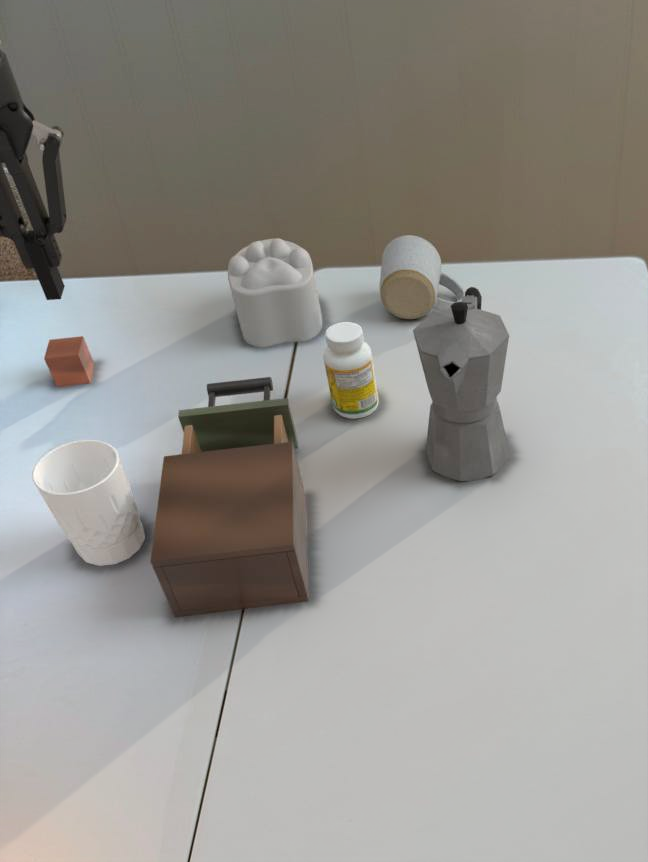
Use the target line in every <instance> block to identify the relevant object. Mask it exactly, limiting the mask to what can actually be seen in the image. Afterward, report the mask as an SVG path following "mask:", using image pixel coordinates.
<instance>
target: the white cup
mask: <svg viewBox="0 0 648 862" xmlns="http://www.w3.org/2000/svg"><path fill="white" fill-rule="evenodd" d="M31 478H32V481H33V484H34V486H35V487H36V490H37V491H38V493H39V494H40V496H41V497H42V499H43V501H44V502H45V505H46V506H47V507H48V509H49V511H50V513H51V514H52V515H53V517H54V519H55V520H56V522H57V524H58V525H59V527H60V528H61V530H62V532H63V534H64V535H65V537H66V538H67V539H68V540H69V542H70V543H71V544H72V546H73V548H74V549H75V551H76V553H77V554H78V556H80V558H81V559H82V560H83V561H84V562H86V563H87V564H90V565H91V564H92V565H94V566H98V567H102V566H113V565H116V564H119V563H121V562H124V561H126V560H129V559H130V558H131V557H133V556H134V555H135V554H136V553H137V552H139V551H140V550H141V548H142V547H143V544H144V542H145V540H146V535H145V529H144V525H143V522H142V521H141V517H140V513H139V510H138V506H137V503H136V501H135V497H134V495H133V492H132V491H133V490H132V488H131V485H130V483H129V479H128V477H127V474H126V472H125V469H124V466H123V464H122V461H121V459H120V455H119V453H118V451H117V450H116V448H115V447H114V446H112V445H111V444H109V443H108V442H105V441H102V440H97V439H79V440H74V441H73V440H72V441H70V442H69V441H68V442H66V443H63V444H61V445H59V446H57V447H56V446H55V448H53V449H51V450H50V451H48V452H46V453H45V454H44V455H43V456H41V457H40V459H39V460H38V461H37V462H36V464H35V465H34V467H33V470H32V474H31Z"/></svg>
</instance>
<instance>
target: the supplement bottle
mask: <svg viewBox="0 0 648 862" xmlns="http://www.w3.org/2000/svg"><path fill="white" fill-rule="evenodd" d="M363 331H364V330H363V328H362V327H361V326H360V325H359V324H358V323H355V322H352V321H341V322H336V323H333V324H332V325H330V326H329V327H328V328H327V329H326V331H325V340H326V341H325V342H326V348H325V349H324V352H323V363H324V368H325V373H326V378H327V383H328V389H329V394H330V399H331V404H332V408H333V410H334V411H335V412H336V413H337V414H338V415H339V416H341V417H342V418H345V419H351V420H352V419H361V418H365V417H368V416H369V415H372V414H373V413H374V412H375V411H376V410H377V408H378V406H379V403H380V401H379V400H380V399H379V393H378V386H377V378H376V373H375V372H376V371H375V366H374V365H375V364H374V359H373V353H372V348H371V347H370V345H369V344H368V343H367V342H366V341H365V337H364V332H363Z"/></svg>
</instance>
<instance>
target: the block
mask: <svg viewBox="0 0 648 862" xmlns="http://www.w3.org/2000/svg"><path fill="white" fill-rule="evenodd" d="M43 359H44V362H45V364H46V366H47V368H48V371H49V373H50V375H51V377H52V379H53V381H54V383H55V386H56V387H57V388H59V387H69V386H77V385H79V386H80V385H87V384H91V383H92V378H93V373H94V369H95V365H96V364H95V362H94V359H93V356H92V354H91V352H90V350H89V347H88V344H87V342H86V340H85V337H84V335H80V336H72V337H63V338H61V337H60V338H53V339H49V340H48V343H47V347H46V350H45V353H44V357H43Z"/></svg>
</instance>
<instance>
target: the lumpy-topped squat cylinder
mask: <svg viewBox="0 0 648 862" xmlns="http://www.w3.org/2000/svg"><path fill="white" fill-rule="evenodd" d="M227 266H228V267H227V280H228V284H229V288H230V289H229V290H230V292H231V296H232V300H233V304H234V308H235V311H236V315H237V319H238V322H239V326H240V330H241V334H242V338H243V339H244V341H245V342H246V344H248V345H250V346H254V347H256V348H267V347H271V346H276V345H281V344H286V343H297V342H298V343H299V342H305V341H309V340H311V339H313V338H315V337H316V336H317V335H318V334H319V333H321V330H322V328H323V314H322V309H321V303H320V299H319V293H318V288H317V281H316V277H315V271H314V266H313V261H312V258H311V255H310V253H309V252H308V251H307V250H306V249H305V248H303V247H302V246H299V245H298V244H296V243H294V242H291V241H288V240H283V239H281V238H279V237H277V238H267V239H263V240H255V241H253V242H250V244H249V245H247V246H245V247H243V248H241V249H240V250H239V251H238V252H237V253H235V255H233V256H232V257H231V258H230V259H229V261H228V265H227Z"/></svg>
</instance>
